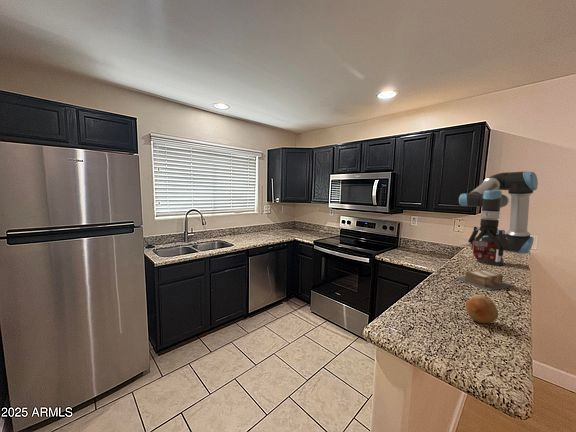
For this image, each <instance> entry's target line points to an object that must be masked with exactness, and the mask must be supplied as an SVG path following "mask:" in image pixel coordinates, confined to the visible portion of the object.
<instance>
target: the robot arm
mask: <svg viewBox="0 0 576 432" xmlns="http://www.w3.org/2000/svg"><path fill="white" fill-rule="evenodd" d="M538 180H539V179H538V176H537V174H536V172H535V171H511V172H510V171H509V172H500V173H495V174H493V175H490V176H489V177H487V178H485V179H484V180H483V181H482V183H481V184H480V185H478V186H476V188H474V189H473V190H472V191H470V192H469V193H461V194H459V197H458V204H459V205H460V206H463V207H464V206H465V207H479V208H481V215H480V218H481V219H480V222H479V223H480V224H479V225H480V226H473V231H472V233H471V235H470V237H469V239H468V241H467V242H468V243H470V244H471V247H470V248H471V250H472V254H471V256H472V257H475V256H474V255H473V245H472V241H473V240H477V241H488V242H489V244H490V242H491V241H494V242H495V244H496V245H497V247H498V249H497V251H495V253H496V260H495V261H489V260H488V259H487V257H484V259H482V260H478V259H476V262H477V263H481V264H484V265H490V266H504V262H505V261H504V258H503V256H504V251H506V252H513V253H517V254H525V255H526V254H529V253H530V251H531V250H532V247H533V245H534V240H535V239H534V237H533V236H531V233H530V232H529V231H528V225H529V224H528V223H529V209H530V196H531V195H532V194H533V193H534V191H536V190H537V189H538V185H539V183H538V182H539V181H538ZM502 191H507V193H508V194H509V195H510V201H509V197H508V195H505V194H503V193H502ZM509 202H510V211H509V212H510V213H509V214H510V215H509V230H507V231H505V229H503V230H502V229H498V227H499V223H500V222H499V219H500V213H501V208H504V207H507V205H509ZM489 248H490V247H489ZM489 248H488V252H490V251H489ZM494 248H495V247H494ZM495 249H496V248H495ZM488 252H487V254H488Z"/></svg>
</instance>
